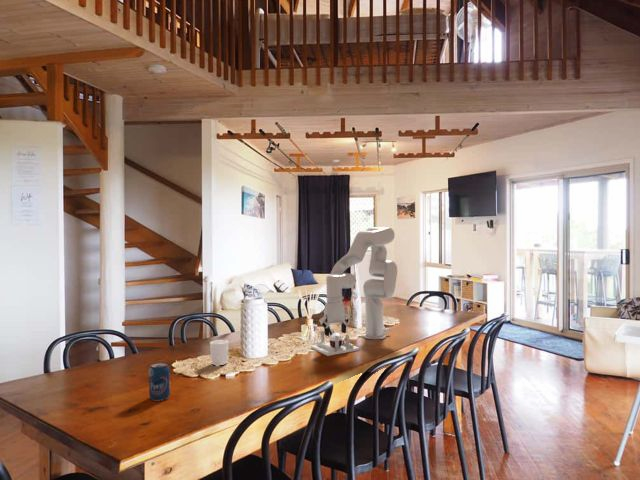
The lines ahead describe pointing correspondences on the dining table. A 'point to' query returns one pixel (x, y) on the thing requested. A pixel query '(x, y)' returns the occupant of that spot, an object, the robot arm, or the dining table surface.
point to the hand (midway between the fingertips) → (335, 334)
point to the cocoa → (332, 339)
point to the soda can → (159, 381)
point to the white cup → (219, 351)
